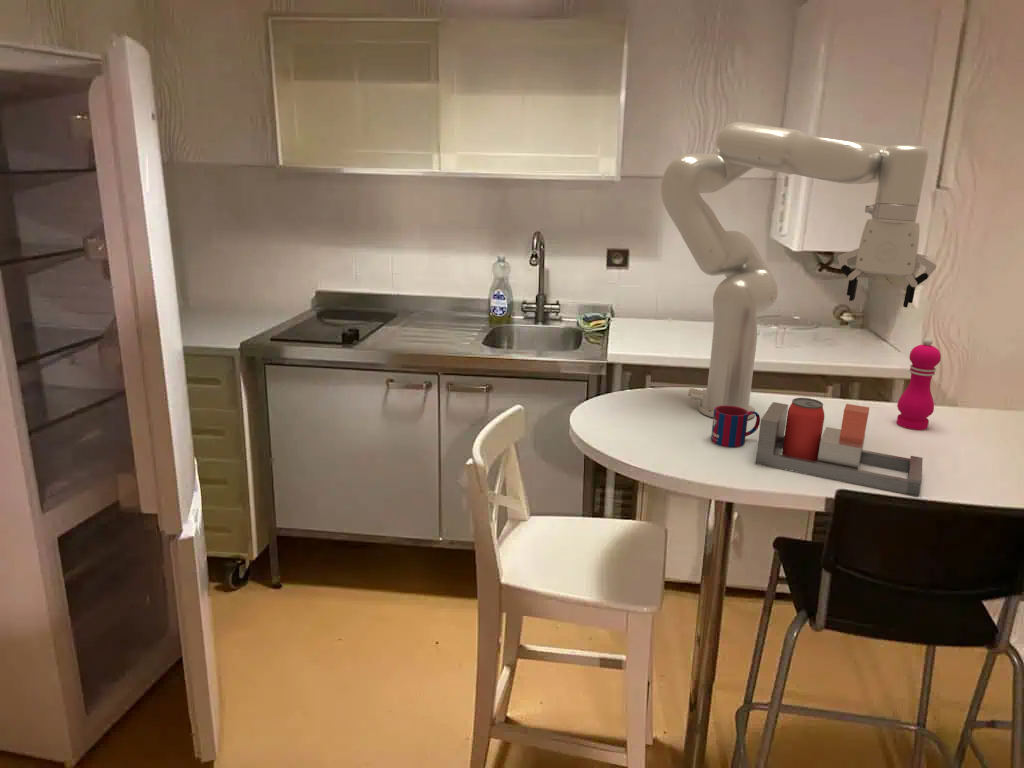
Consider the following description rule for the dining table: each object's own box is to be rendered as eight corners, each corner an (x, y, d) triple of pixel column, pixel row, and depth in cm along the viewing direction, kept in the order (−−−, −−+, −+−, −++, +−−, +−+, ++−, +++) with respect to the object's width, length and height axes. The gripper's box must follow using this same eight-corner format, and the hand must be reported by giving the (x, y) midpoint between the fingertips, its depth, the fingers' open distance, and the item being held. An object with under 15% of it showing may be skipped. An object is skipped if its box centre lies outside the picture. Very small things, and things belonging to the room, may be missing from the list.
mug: (706, 436, 161) (709, 405, 159) (751, 435, 162) (755, 404, 160) (718, 448, 154) (722, 416, 152) (765, 447, 156) (769, 415, 154)
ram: (815, 471, 143) (825, 410, 140) (821, 455, 151) (830, 397, 148) (856, 479, 140) (866, 417, 137) (860, 462, 148) (870, 403, 144)
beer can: (800, 469, 145) (809, 409, 141) (774, 457, 150) (781, 399, 147) (824, 463, 148) (833, 404, 144) (797, 452, 153) (806, 395, 150)
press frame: (755, 463, 147) (760, 419, 144) (767, 443, 157) (772, 402, 155) (918, 496, 134) (928, 448, 132) (919, 472, 145) (928, 427, 142)
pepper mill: (893, 427, 170) (909, 339, 164) (894, 417, 176) (910, 332, 170) (930, 433, 166) (947, 343, 161) (930, 423, 173) (947, 337, 167)
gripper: (843, 211, 146) (828, 300, 151) (945, 218, 138) (926, 312, 143) (848, 209, 152) (834, 294, 157) (946, 216, 144) (928, 306, 149)
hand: (878, 303), depth 150 cm, fingers open, 9 cm apart
